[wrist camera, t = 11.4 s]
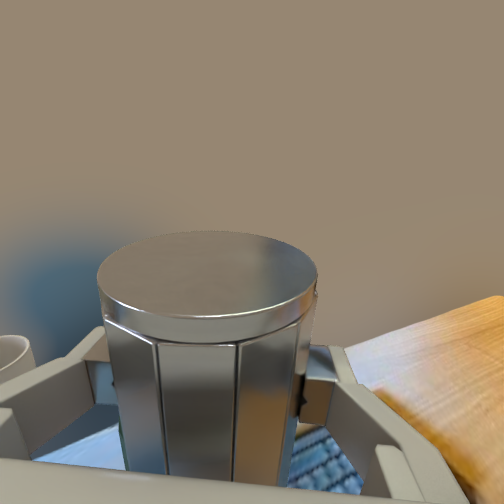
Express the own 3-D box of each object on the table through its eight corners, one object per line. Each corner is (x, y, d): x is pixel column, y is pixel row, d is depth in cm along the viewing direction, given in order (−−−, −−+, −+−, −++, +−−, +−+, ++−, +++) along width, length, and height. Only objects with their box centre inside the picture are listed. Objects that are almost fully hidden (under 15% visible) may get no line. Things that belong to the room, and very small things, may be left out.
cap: (275, 404, 13) (295, 233, 10) (296, 575, 8) (355, 321, 4) (163, 403, 13) (147, 227, 10) (105, 578, 7) (27, 311, 4)
